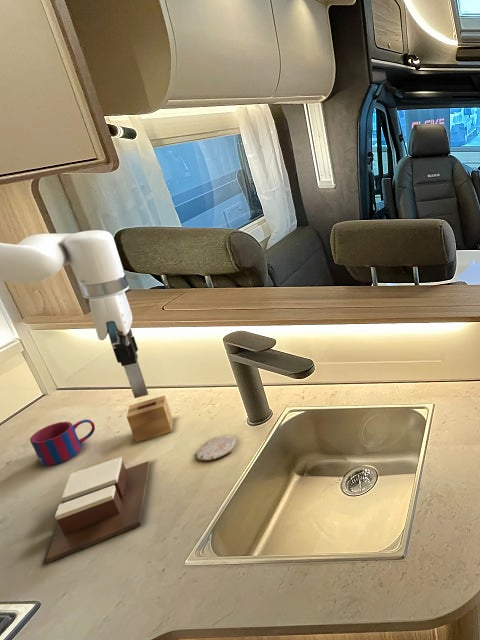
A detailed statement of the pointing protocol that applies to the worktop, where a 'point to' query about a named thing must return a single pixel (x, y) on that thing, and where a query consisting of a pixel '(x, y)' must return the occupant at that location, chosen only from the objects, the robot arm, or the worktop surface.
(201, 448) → the flatbread
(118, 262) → the robot arm
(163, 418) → the knife block
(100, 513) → the cake slice
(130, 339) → the knife
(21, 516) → the worktop surface
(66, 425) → the mug
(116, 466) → the cake
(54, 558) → the cake board
